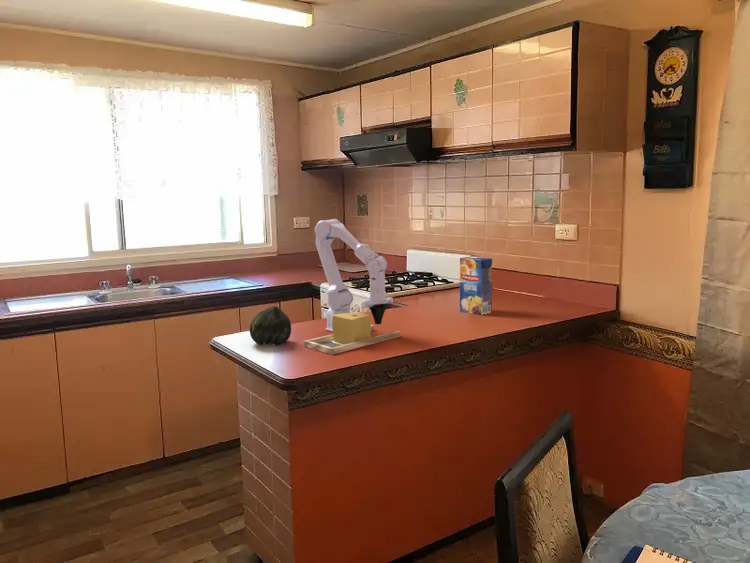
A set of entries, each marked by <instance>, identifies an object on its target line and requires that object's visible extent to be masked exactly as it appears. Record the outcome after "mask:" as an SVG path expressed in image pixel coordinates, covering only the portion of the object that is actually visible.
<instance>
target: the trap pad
mask: <svg viewBox="0 0 750 563" xmlns="http://www.w3.org/2000/svg"><path fill="white" fill-rule="evenodd" d="M319 344H321V345H325V346H328V347H331V348H333V347H337V346H340V345H339V344H335V343H332V342H329V341H328V342H324V343H319Z"/></svg>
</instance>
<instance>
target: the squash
mask: <svg viewBox="0 0 750 563" xmlns="http://www.w3.org/2000/svg"><path fill="white" fill-rule="evenodd" d="M291 334H292V323H291V320H290V317H289V316H288V315H287V314H286V313H285V312H284V311H283V310H282V309H281V308H280V307H278V306H275V305H274V306H270V307H268V308H266V309H264V310H261V311H260V312H258V313H257V314H255V315H254V317H253V318H252V320H251V322H250V325H249V335H250V337H251V339H252V341H254V342H255V343H256V344H258V345H260V346H261V345H262V346H263V345H269V344H270V345H276V346H281V345H283V344H284V343H286V342H287V341H288V340H289V339H290V337H291Z"/></svg>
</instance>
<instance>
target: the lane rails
mask: <svg viewBox="0 0 750 563" xmlns="http://www.w3.org/2000/svg"><path fill="white" fill-rule="evenodd" d="M372 331H375V325H374V324H371V332H372ZM400 337H401V331H400V330H396V331H392V332H389V333H384V334H381V335H377V336H371V338H368V339H364V340H360V341H356V342H352V343H349V344H345V345H339V346H337V347H333V348H331V347H328V346H325V345H321V344H319V343H324V342H329V341H332V340H334V335H333V333H331V334H328V335H322V336H320V337H319V336H318V337H315V338H310V339H306V340H303V346H304V347H306V348H309V349H312V350H315V351H319V352H321V353H325V354H329V355H335V354H336V355H337V354H339V353H343V352H347V351H351V350H355V349H358V348H359V349H360V348H361V347H362V348H363V347H366V346H370V345H373V344H377V343H380V342H385V341H388V340H392V339H396V338H400Z"/></svg>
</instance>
